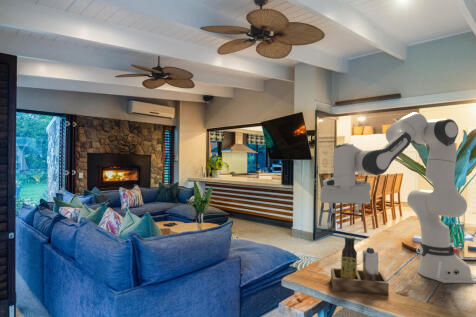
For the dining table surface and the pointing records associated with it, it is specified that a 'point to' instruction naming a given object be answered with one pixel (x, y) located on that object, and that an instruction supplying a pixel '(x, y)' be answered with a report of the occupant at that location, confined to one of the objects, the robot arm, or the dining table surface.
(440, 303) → the dining table surface
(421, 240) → the robot arm
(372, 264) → the pepper mill
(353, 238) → the sauce bottle
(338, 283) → the condiment caddy
